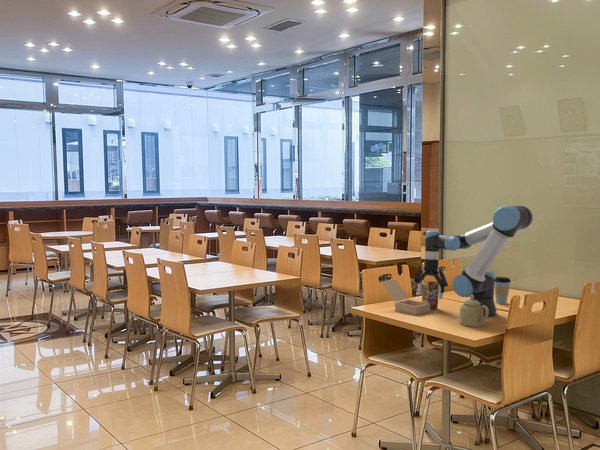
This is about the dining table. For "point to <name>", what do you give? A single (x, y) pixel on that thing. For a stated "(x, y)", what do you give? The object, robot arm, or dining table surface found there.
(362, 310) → the dining table surface
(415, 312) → the box
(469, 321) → the grey round pot
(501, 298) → the coffee cup
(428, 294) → the candy box
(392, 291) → the lid
